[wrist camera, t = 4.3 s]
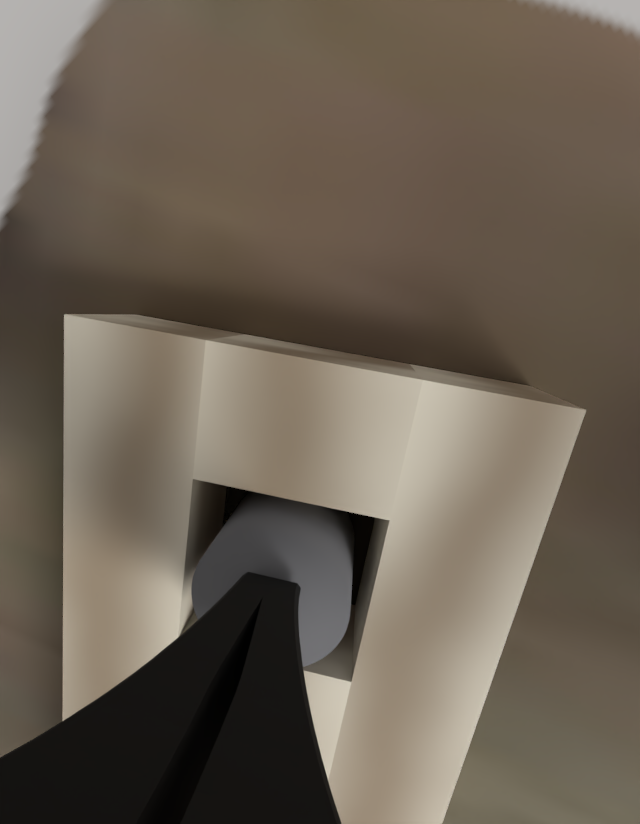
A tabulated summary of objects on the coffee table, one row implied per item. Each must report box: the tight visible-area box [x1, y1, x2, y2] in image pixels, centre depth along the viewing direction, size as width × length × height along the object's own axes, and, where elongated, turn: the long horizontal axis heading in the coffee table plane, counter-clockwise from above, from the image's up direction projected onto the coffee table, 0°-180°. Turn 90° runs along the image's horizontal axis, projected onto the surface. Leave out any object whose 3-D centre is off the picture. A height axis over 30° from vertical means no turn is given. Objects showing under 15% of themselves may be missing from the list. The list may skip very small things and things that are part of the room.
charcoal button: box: [191, 491, 355, 667], centre depth 11 cm, size 4×4×3 cm
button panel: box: [63, 314, 586, 824], centre depth 13 cm, size 12×24×3 cm, turn 170°
